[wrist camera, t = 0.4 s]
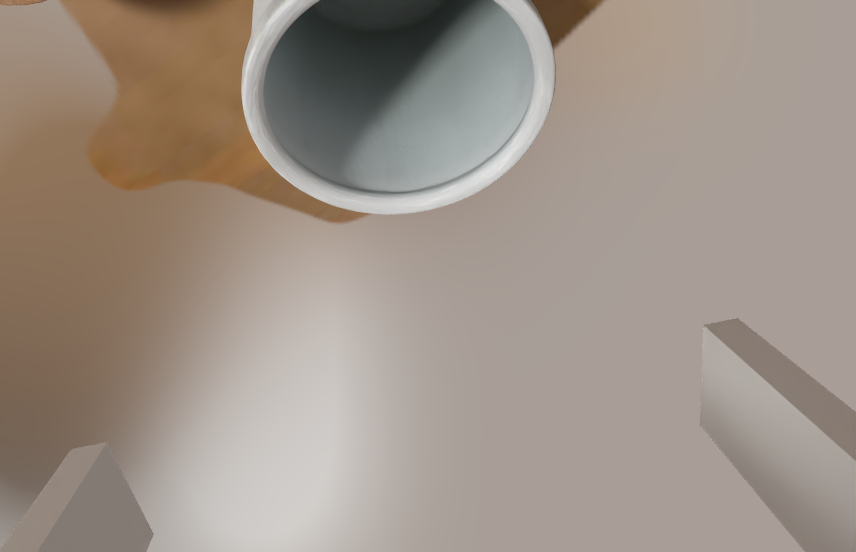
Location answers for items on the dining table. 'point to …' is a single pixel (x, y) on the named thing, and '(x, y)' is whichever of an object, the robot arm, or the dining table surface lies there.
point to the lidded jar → (19, 2)
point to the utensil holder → (396, 96)
